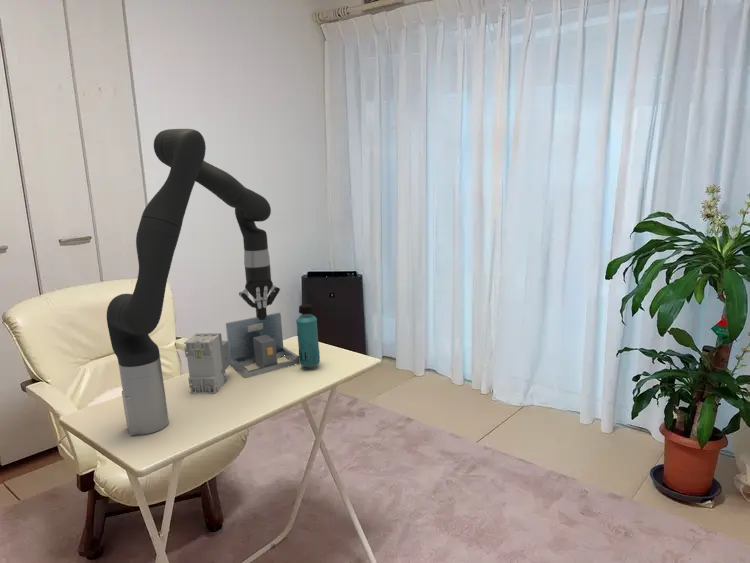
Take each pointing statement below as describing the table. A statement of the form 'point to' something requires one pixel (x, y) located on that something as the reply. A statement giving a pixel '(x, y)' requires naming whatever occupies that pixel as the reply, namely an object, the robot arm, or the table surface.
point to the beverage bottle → (307, 337)
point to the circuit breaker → (207, 362)
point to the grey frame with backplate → (243, 344)
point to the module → (265, 351)
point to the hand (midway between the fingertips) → (261, 319)
